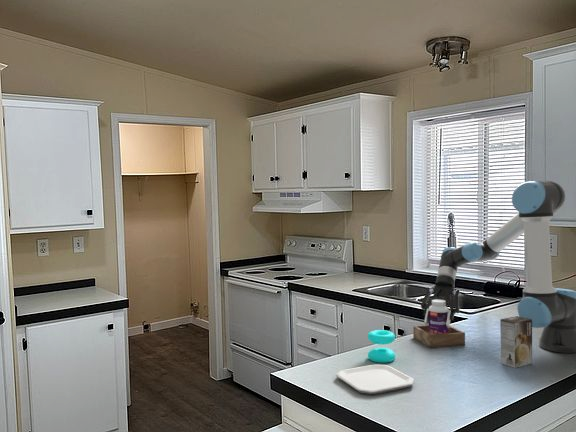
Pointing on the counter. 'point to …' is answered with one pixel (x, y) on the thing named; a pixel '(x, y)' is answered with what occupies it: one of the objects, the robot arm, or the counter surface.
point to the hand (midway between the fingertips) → (436, 325)
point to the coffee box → (516, 341)
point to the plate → (375, 379)
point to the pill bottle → (438, 317)
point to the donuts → (381, 353)
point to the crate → (439, 337)
